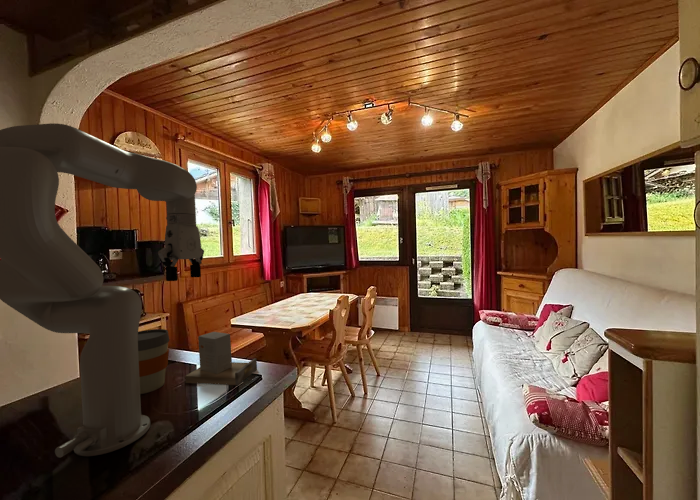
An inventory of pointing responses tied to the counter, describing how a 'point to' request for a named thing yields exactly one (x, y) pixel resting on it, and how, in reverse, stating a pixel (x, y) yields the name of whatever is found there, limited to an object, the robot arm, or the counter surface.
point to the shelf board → (224, 374)
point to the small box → (215, 352)
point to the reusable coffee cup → (152, 358)
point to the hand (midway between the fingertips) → (184, 278)
